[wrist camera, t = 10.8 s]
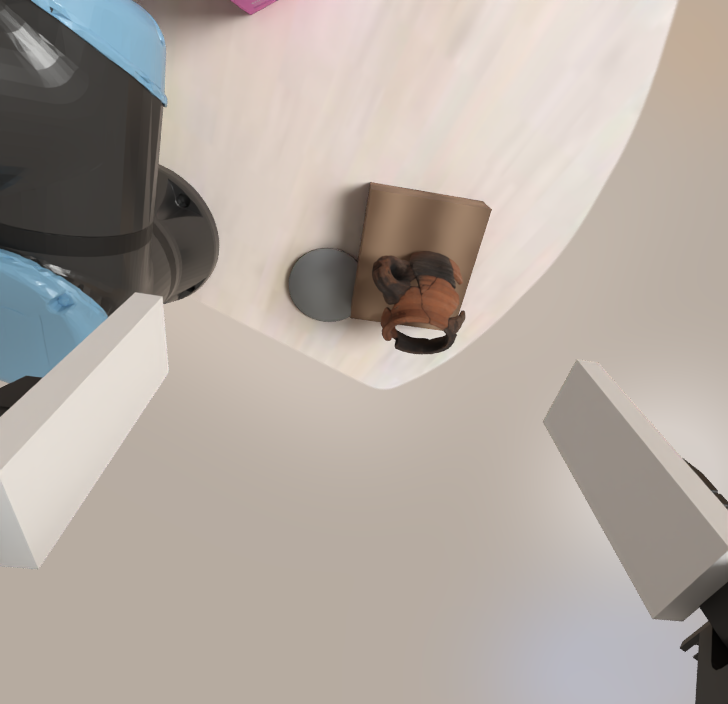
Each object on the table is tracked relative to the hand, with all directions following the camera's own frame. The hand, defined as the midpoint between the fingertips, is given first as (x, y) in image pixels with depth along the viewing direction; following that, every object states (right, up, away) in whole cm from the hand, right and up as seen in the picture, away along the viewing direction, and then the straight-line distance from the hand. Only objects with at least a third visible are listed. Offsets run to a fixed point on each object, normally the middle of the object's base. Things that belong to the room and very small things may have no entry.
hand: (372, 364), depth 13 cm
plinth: (+5, +11, +33) cm, 36 cm away
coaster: (-4, +8, +35) cm, 36 cm away
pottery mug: (+5, +10, +31) cm, 33 cm away
